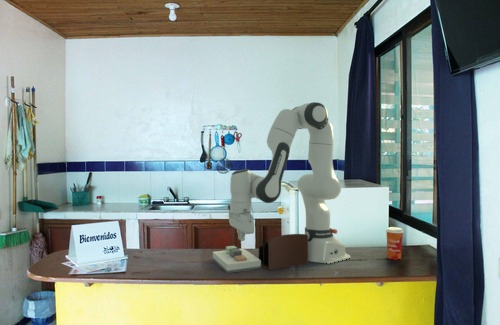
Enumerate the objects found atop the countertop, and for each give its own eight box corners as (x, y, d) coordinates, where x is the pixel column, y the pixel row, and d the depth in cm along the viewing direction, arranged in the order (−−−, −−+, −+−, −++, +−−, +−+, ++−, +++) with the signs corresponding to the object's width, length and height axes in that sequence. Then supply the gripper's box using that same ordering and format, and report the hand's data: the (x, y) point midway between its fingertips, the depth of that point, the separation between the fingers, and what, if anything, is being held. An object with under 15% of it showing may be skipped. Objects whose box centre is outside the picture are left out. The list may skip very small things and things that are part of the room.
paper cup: (382, 258, 166) (382, 228, 165) (390, 254, 171) (390, 226, 170) (398, 262, 160) (399, 231, 159) (406, 258, 165) (406, 228, 164)
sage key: (234, 252, 164) (234, 245, 164) (237, 254, 160) (237, 247, 160) (225, 253, 162) (225, 246, 162) (228, 255, 159) (228, 248, 159)
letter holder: (308, 264, 156) (308, 232, 156) (268, 270, 148) (268, 237, 148) (296, 258, 165) (296, 228, 165) (258, 263, 157) (258, 232, 157)
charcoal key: (238, 255, 159) (238, 248, 159) (241, 257, 155) (241, 250, 155) (230, 256, 157) (230, 249, 157) (233, 258, 154) (233, 251, 154)
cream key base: (243, 255, 168) (243, 248, 168) (260, 268, 150) (260, 260, 150) (212, 259, 163) (212, 251, 162) (227, 273, 144) (227, 264, 144)
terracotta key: (243, 261, 154) (243, 254, 154) (246, 264, 150) (246, 257, 150) (234, 262, 152) (234, 256, 152) (237, 265, 149) (237, 258, 149)
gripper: (257, 210, 142) (258, 245, 143) (239, 203, 161) (239, 234, 162) (243, 212, 140) (244, 247, 140) (226, 205, 159) (226, 235, 159)
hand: (241, 240), depth 151 cm, fingers closed
